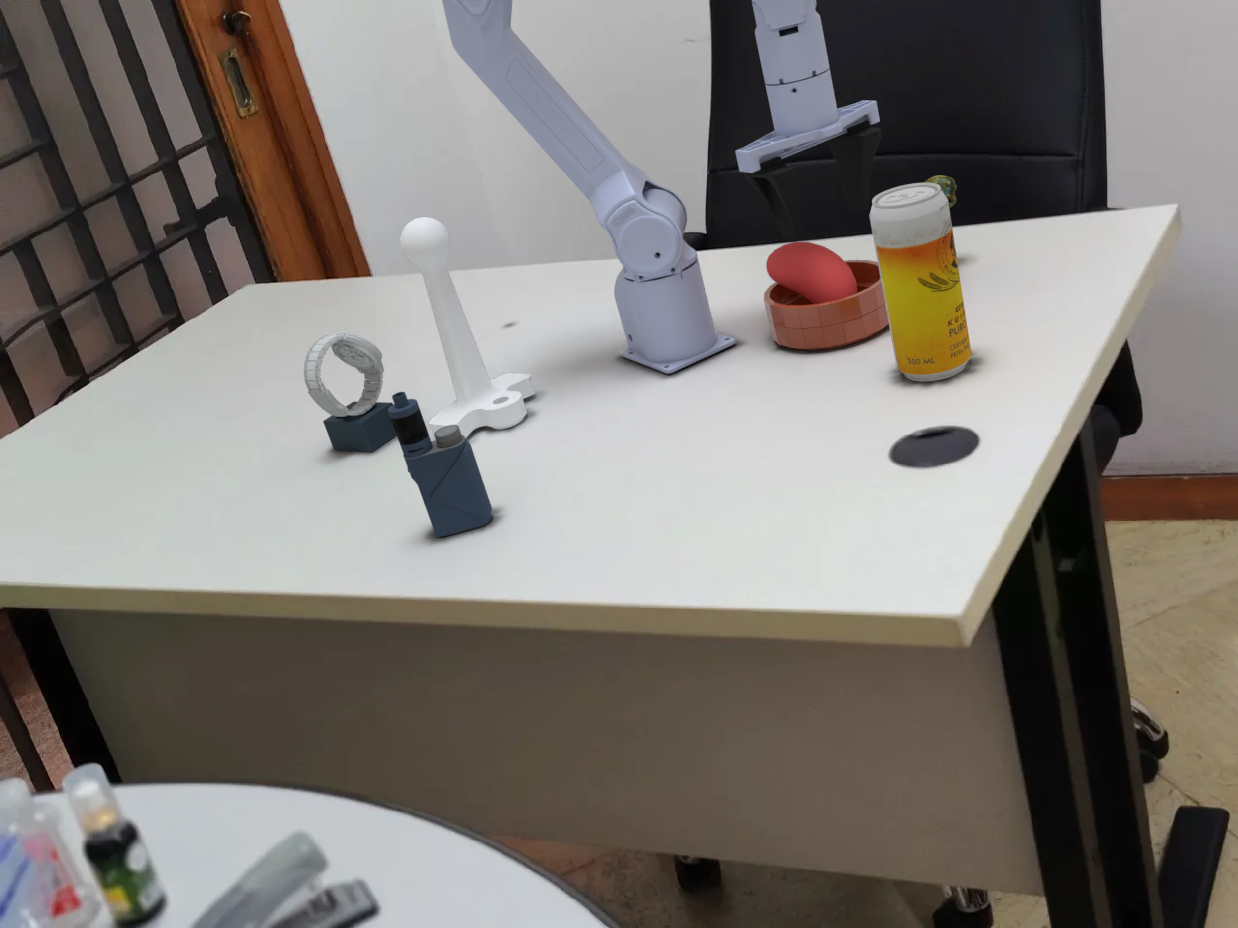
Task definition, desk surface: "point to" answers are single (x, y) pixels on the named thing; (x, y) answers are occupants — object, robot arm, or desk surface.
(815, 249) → the red kidney bean
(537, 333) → the desk surface
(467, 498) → the vaping device
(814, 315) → the bowl
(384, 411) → the watch
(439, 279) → the joystick
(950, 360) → the beer can
